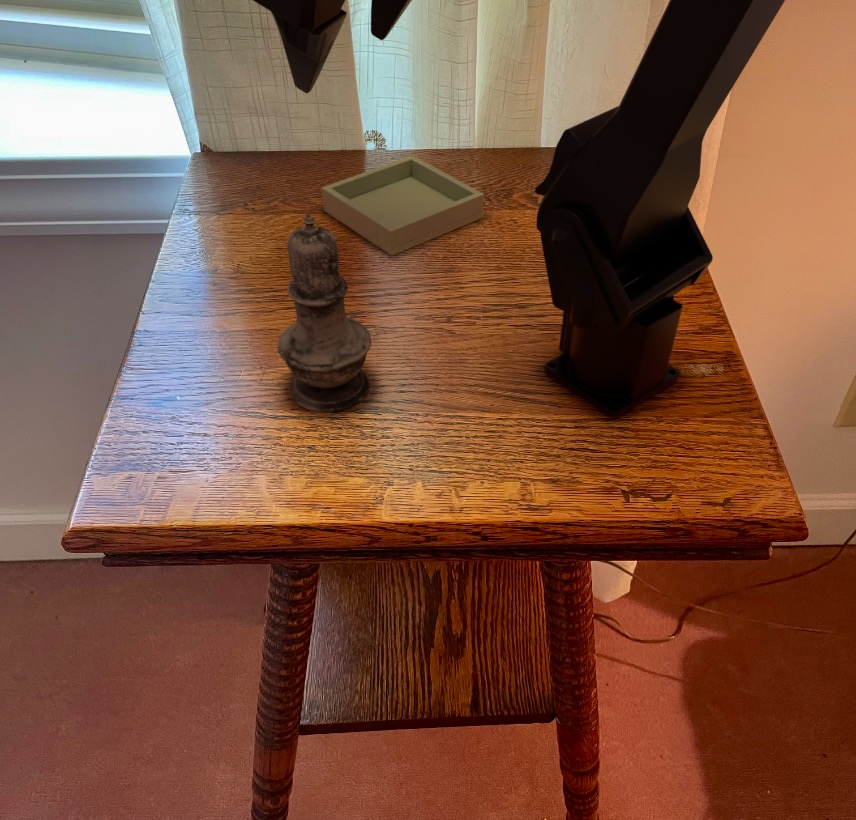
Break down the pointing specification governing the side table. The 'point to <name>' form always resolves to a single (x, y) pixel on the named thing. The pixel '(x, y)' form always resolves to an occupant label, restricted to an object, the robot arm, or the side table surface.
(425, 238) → the tray
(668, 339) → the robot arm
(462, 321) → the side table surface
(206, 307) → the side table surface
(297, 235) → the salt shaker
